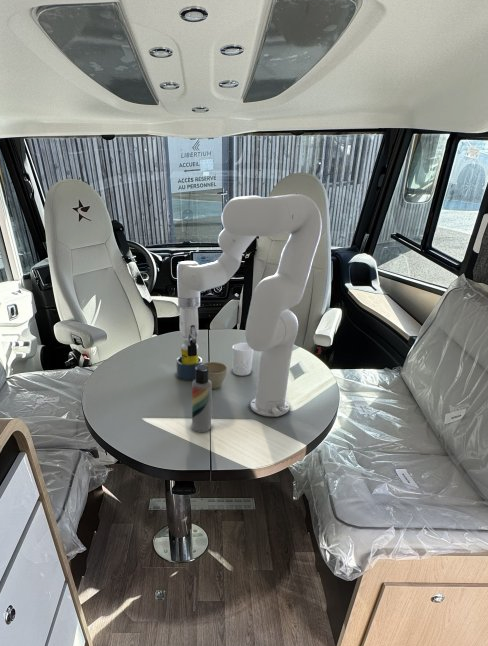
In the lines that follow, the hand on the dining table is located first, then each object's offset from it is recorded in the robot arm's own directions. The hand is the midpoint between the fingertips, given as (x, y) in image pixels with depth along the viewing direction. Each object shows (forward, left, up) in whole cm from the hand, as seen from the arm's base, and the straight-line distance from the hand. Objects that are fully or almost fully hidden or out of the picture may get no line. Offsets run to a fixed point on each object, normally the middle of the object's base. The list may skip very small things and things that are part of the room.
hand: (190, 351), depth 160 cm
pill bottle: (0, 0, -6) cm, 6 cm away
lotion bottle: (-38, +5, -9) cm, 39 cm away
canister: (0, 0, -9) cm, 9 cm away
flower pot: (-11, -6, -9) cm, 15 cm away
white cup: (-2, -20, -10) cm, 22 cm away
